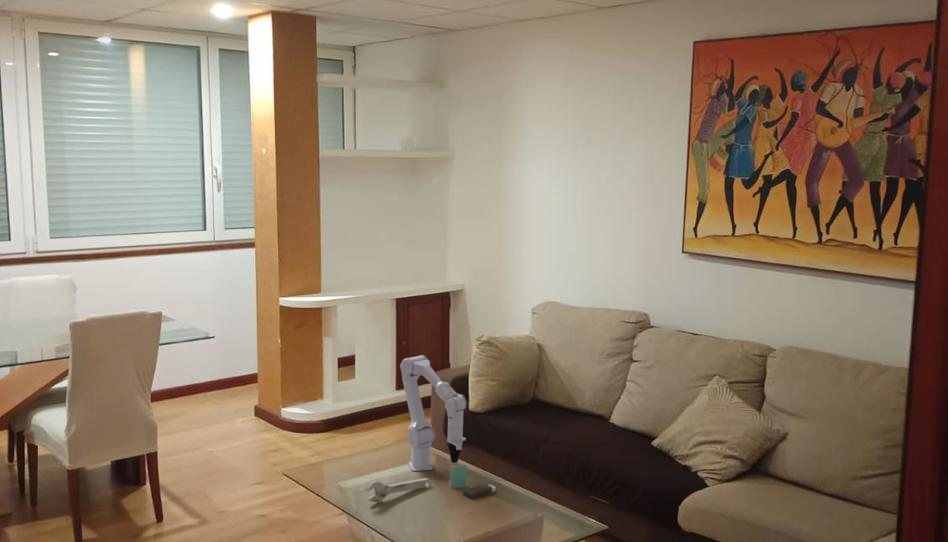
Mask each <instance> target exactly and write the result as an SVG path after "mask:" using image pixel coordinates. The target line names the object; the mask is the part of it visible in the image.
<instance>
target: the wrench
mask: <svg viewBox="0 0 948 542" xmlns="http://www.w3.org/2000/svg"><path fill="white" fill-rule="evenodd" d="M431 483H432V482H431V479H429V478H426V477H425V478H418V479H413V480H408V481H404V482H398V483H391V484H385V483H381V482H380V481H377V480H373V481H370V482H369V483H368V484H367V485H366V487H365V491H366V492H370V491H372V490H373V489H374V493H373V494H372V495H370V496H369V497H368V498H367V500H368V501H370V502H373V503H376V502H377V503H379V504H381V503H382V501H384V499H385V498H386V497H388V496H390V494H391V495H392V494H395V493H400V492H406V491H412V490H417V489H418V490H419V489H423V488H428V487H430V485H431Z"/></svg>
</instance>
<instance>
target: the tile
mask: <svg viewBox="0 0 948 542" xmlns="http://www.w3.org/2000/svg"><path fill="white" fill-rule="evenodd" d="M467 471H468V465H467V464H457V465H456V464H455V465H449V488H450V489H454V488H467V477H468V476H467V475H468V474H467V473H468V472H467Z"/></svg>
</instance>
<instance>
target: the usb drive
mask: <svg viewBox="0 0 948 542" xmlns="http://www.w3.org/2000/svg"><path fill="white" fill-rule="evenodd" d="M496 488H497V487H496V486H494V485H492V484H487V483H484V484H480V485H477V486H474V487H471V488H468V489H465V490H464V491H463V496H464V497H466V498H468V499H469V500H471V501H473V500H476V499H479V498H483V497H487V496H490V495H491V494H493V493H494V492H493V491H495V490H497V489H496ZM495 492H496V491H495ZM489 494H490V495H489ZM486 495H487V496H486Z"/></svg>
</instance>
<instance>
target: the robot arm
mask: <svg viewBox="0 0 948 542" xmlns="http://www.w3.org/2000/svg"><path fill="white" fill-rule="evenodd" d="M399 369H400V372H401V376H402V377H401V380H402V384H403V388H404V394H405V399H406V401H407V406H408V413H409V416H410V419H411V420H410V421H411V423H410V425H409V426H408V427H407V433H408V434H407V441H408V443H409V444H410V446H411V449H410V450H411V451H410V453H411V454H410V455H411V458H410V459H411V460H410V461H408V465H409V467H410V468H411V470H412V471H413V472H416V471H417V472H418V471H432V470H433V466H432V465H431V445H432V443H433V441H434V440H435V438H436V433H435V430H434V429H433V427H432V423H431V422H429V421H428V420H427V419H426V417H425V412H424V408H423V403H422V398H421V394H420V390H419V385H418V380H419V377H420V376H423V377H424V378H425V379H426V381H428V382H429V383H430V384H431V385H432V386H433V387H434V391H435V394H436V395H437V396H438V398H440V399H441V401H443V402H444V408H445V410H446V415H447V438H446V441H447V442H446V446H447V448H448V450H449V456H450V457H449V458H450V462H451V463H452V464H455V463H457V464H458V461H459V458H460V454H461V452H462V449H463V448H464V445H463V441H466V440H467V438H466V437H464V436H463V434H464V432H463V431H464V410H465V409H466V408H467V405H468V402H467V401H468V400H467V399H466V397H465V395H464V394H459V393H458V392H456V390H455V389H453V388H452V386H451V384H450V383H449V382H447V381H442V380H441V378H440V377H439V376H438V375H437V373H436V371H434V370H435V369H433V368H432V366H431V362H430V360H429V359H428V358H427V357H426V355H423V354H421V355H418V356H412V357H406V358H404V359H402V361H401V363H400V365H399Z"/></svg>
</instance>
